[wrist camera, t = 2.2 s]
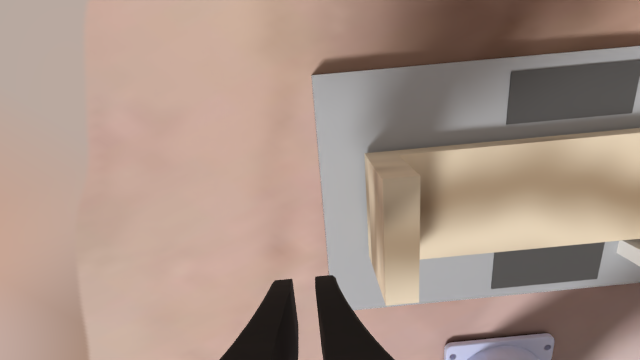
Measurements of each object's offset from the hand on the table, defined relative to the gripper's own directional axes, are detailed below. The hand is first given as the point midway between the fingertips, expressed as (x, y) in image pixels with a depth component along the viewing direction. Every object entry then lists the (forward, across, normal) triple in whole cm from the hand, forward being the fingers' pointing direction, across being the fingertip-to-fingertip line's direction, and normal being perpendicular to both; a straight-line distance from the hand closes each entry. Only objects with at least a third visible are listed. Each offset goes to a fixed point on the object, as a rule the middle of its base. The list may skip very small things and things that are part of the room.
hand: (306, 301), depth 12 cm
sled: (+8, -14, 0) cm, 16 cm away
